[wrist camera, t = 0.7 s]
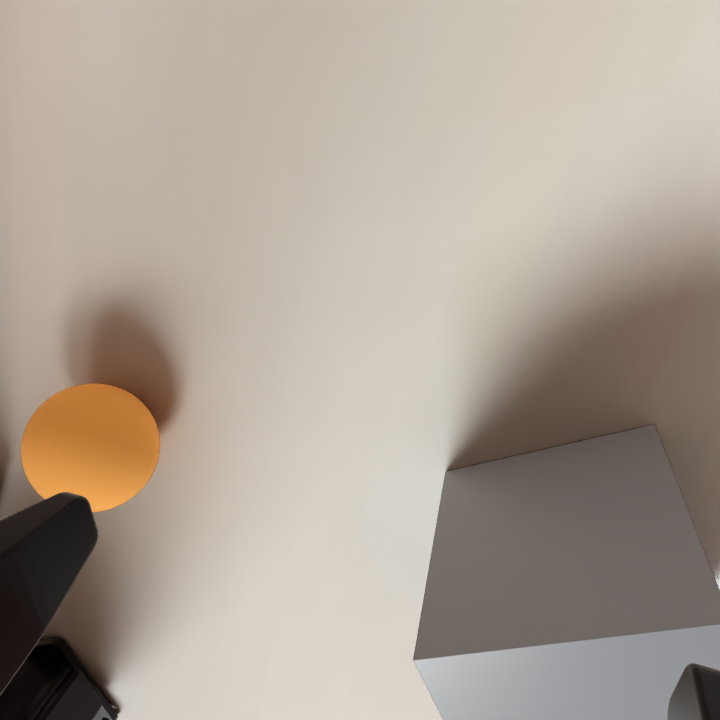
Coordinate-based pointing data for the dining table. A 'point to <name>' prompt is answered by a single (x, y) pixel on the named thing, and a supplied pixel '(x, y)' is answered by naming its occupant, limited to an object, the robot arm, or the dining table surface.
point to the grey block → (566, 586)
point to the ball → (91, 445)
